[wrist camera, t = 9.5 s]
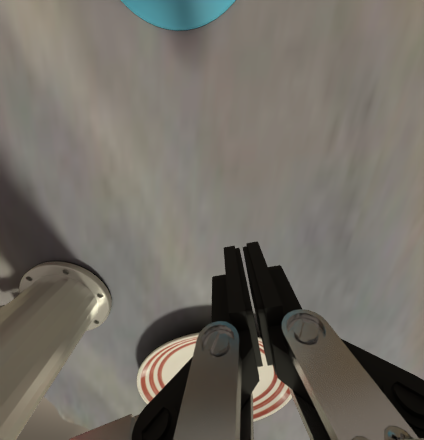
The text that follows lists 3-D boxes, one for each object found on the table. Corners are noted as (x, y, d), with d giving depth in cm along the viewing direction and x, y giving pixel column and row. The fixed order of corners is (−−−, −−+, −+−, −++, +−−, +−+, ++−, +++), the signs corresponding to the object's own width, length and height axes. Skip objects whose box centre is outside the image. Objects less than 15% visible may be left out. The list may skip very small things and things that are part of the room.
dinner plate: (326, 359, 36) (336, 380, 33) (231, 423, 46) (232, 444, 42) (197, 287, 30) (195, 304, 27) (117, 378, 39) (109, 399, 36)
